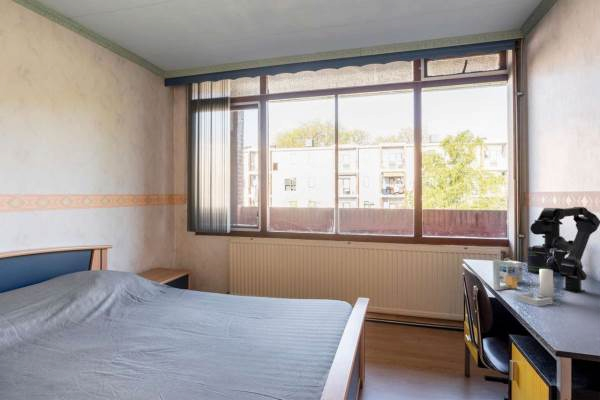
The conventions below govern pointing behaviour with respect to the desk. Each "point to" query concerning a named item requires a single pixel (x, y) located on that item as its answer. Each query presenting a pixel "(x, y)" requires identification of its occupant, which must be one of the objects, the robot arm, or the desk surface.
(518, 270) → the light bulb box
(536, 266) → the storage jar
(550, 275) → the white cylinder
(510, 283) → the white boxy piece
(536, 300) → the gray square tray
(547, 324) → the desk surface
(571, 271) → the robot arm
